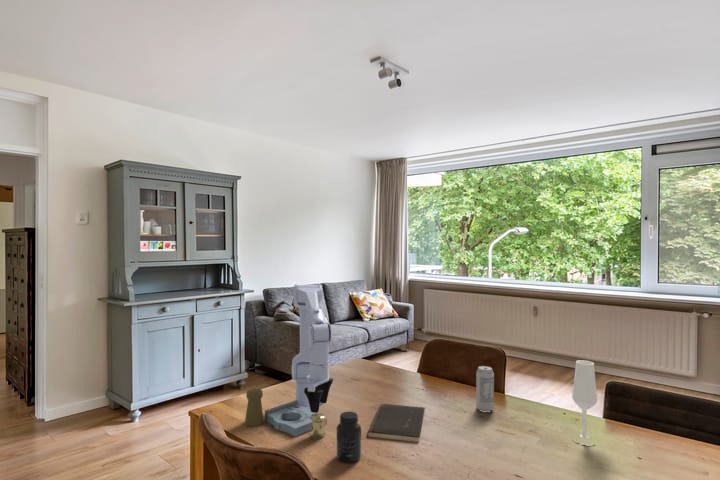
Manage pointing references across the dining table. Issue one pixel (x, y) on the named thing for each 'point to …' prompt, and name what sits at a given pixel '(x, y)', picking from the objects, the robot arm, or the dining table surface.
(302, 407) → the block
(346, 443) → the supplement bottle
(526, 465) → the dining table surface
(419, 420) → the hardcover book
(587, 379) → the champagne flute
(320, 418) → the cylinder
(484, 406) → the energy drink can
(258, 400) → the olive green tapered piece
